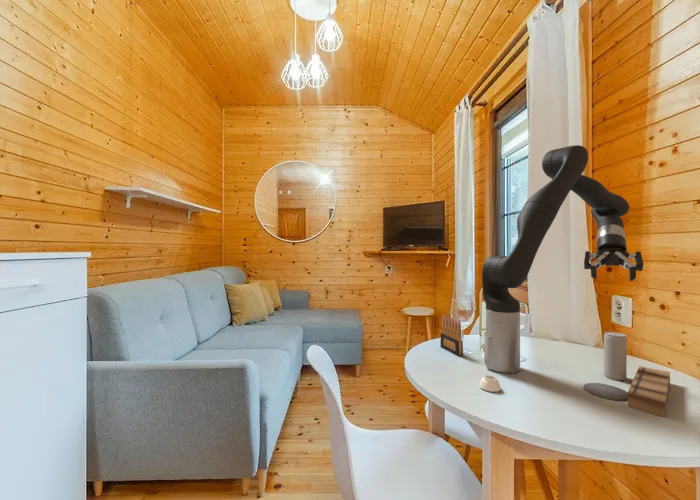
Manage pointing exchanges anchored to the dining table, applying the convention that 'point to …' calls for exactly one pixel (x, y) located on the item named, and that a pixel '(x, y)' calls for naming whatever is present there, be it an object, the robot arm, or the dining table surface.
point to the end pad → (606, 391)
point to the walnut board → (649, 390)
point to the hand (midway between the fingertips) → (612, 278)
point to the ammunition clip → (451, 336)
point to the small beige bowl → (490, 383)
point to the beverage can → (615, 355)
